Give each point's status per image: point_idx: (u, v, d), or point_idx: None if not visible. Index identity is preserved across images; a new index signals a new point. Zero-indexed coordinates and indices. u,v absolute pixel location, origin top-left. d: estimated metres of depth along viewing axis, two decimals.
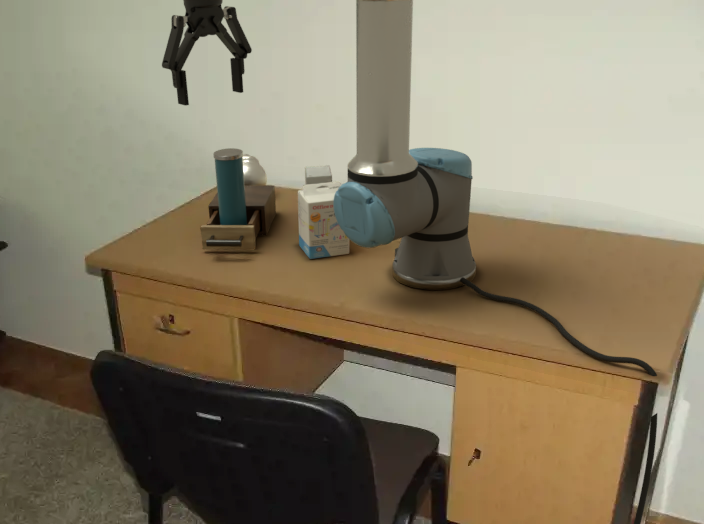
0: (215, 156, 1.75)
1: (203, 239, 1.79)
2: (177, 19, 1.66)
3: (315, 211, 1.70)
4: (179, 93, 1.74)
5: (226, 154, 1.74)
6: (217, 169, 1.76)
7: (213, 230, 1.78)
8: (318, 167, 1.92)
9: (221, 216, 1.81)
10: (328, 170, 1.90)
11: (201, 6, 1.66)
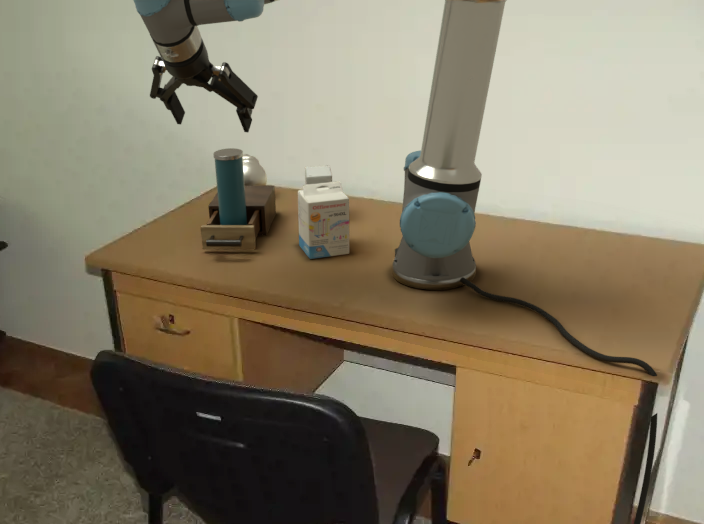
0: (215, 156, 1.75)
1: (203, 239, 1.79)
2: (228, 66, 1.48)
3: (315, 211, 1.70)
4: (247, 120, 1.60)
5: (226, 154, 1.74)
6: (217, 169, 1.76)
7: (213, 230, 1.78)
8: (318, 167, 1.92)
9: (221, 216, 1.81)
10: (328, 170, 1.90)
11: None
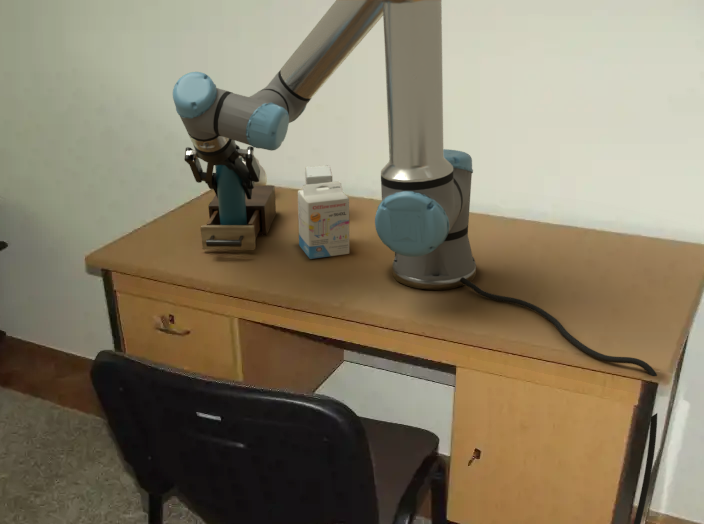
0: None
1: (203, 239, 1.79)
2: (253, 150, 1.67)
3: (315, 211, 1.70)
4: (249, 190, 1.81)
5: None
6: (217, 169, 1.76)
7: (213, 230, 1.78)
8: (318, 167, 1.92)
9: (221, 216, 1.81)
10: (328, 170, 1.90)
11: None
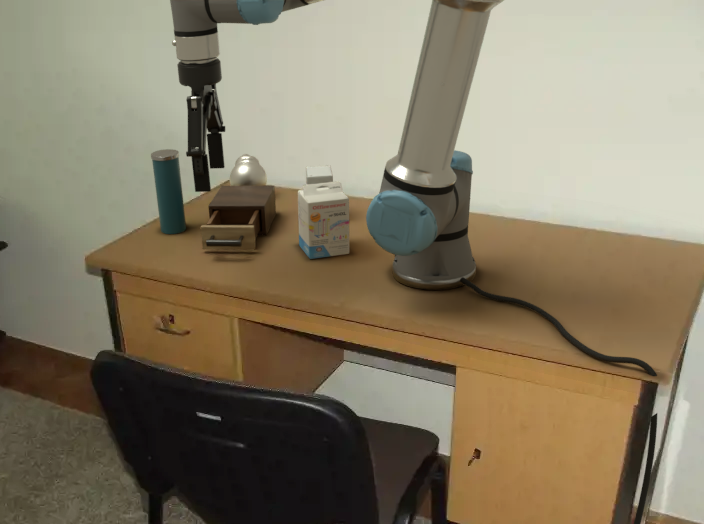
0: (152, 157, 1.84)
1: (203, 239, 1.79)
2: (198, 100, 1.49)
3: (315, 211, 1.70)
4: (199, 179, 1.56)
5: (162, 155, 1.84)
6: (154, 169, 1.86)
7: (213, 230, 1.78)
8: (319, 167, 1.92)
9: (160, 213, 1.91)
10: (329, 170, 1.90)
11: (213, 82, 1.51)
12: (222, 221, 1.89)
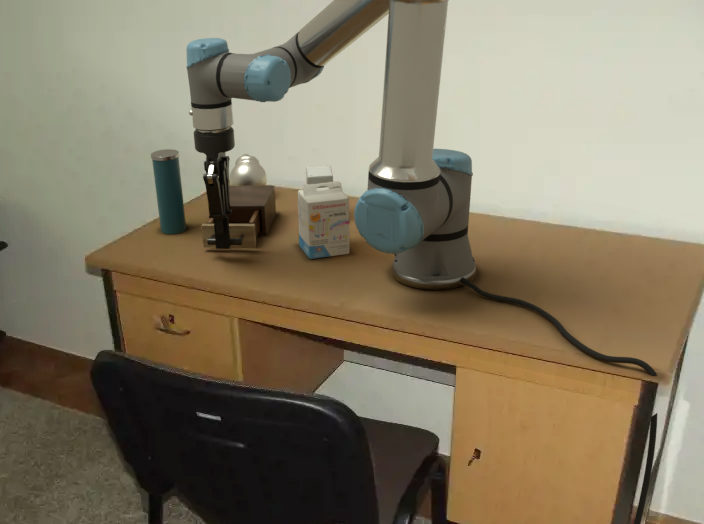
0: (152, 157, 1.84)
1: (204, 238, 1.80)
2: (214, 179, 1.62)
3: (315, 211, 1.70)
4: (220, 238, 1.73)
5: (162, 155, 1.84)
6: (154, 169, 1.86)
7: None
8: (319, 167, 1.92)
9: (160, 213, 1.91)
10: (329, 170, 1.90)
11: (226, 150, 1.62)
12: None
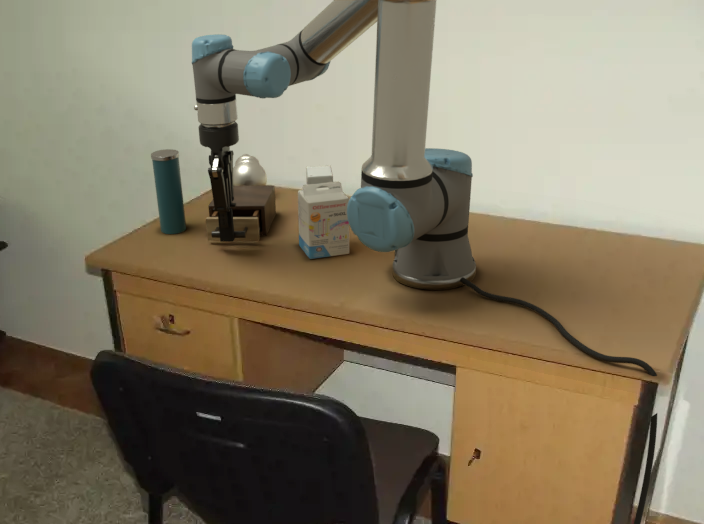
0: (152, 157, 1.84)
1: (208, 231, 1.83)
2: (219, 173, 1.65)
3: (315, 211, 1.70)
4: (224, 231, 1.77)
5: (162, 155, 1.84)
6: (154, 169, 1.86)
7: (218, 221, 1.82)
8: (319, 167, 1.92)
9: (160, 213, 1.91)
10: (329, 170, 1.90)
11: (231, 144, 1.66)
12: None
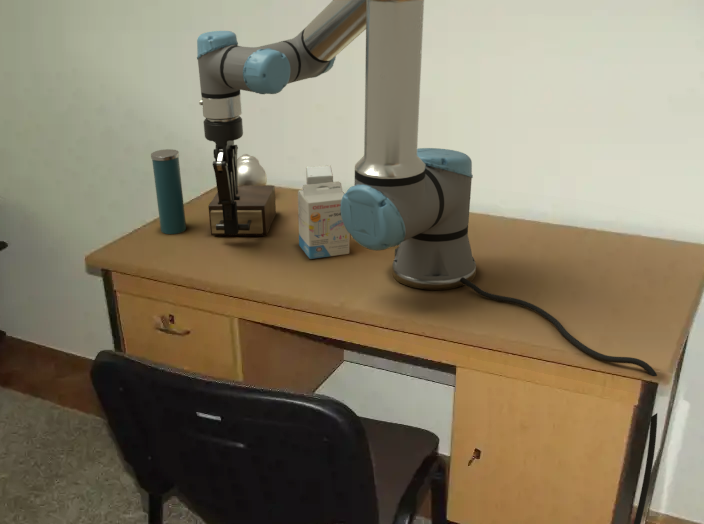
0: (152, 157, 1.84)
1: (213, 223, 1.87)
2: (223, 166, 1.69)
3: (315, 211, 1.70)
4: (228, 224, 1.80)
5: (162, 155, 1.84)
6: (154, 169, 1.86)
7: None
8: (319, 167, 1.92)
9: (160, 213, 1.91)
10: (329, 170, 1.90)
11: (235, 138, 1.69)
12: None
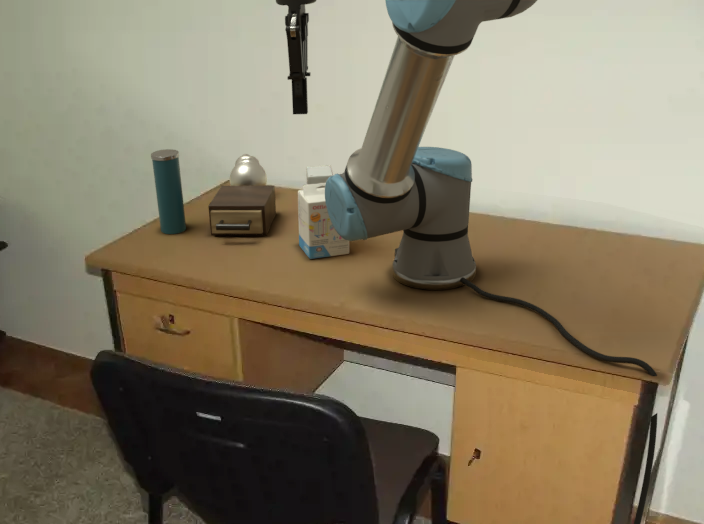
0: (152, 157, 1.84)
1: (213, 223, 1.87)
2: (297, 31, 1.56)
3: (315, 211, 1.70)
4: (297, 102, 1.68)
5: (162, 155, 1.84)
6: (154, 169, 1.86)
7: (223, 214, 1.85)
8: (319, 167, 1.92)
9: (160, 213, 1.91)
10: (329, 170, 1.90)
11: (310, 2, 1.57)
12: None
